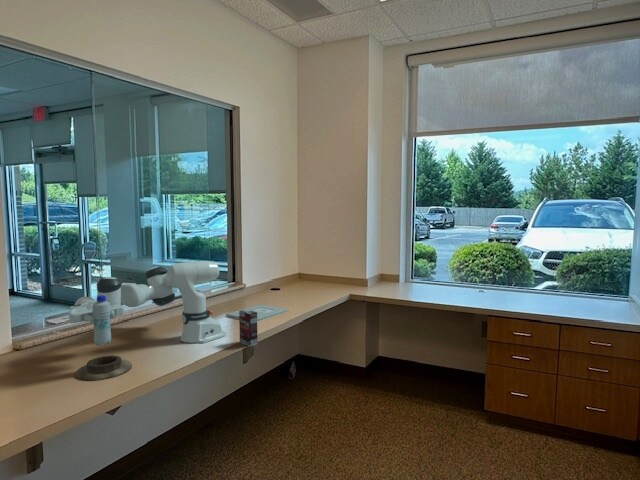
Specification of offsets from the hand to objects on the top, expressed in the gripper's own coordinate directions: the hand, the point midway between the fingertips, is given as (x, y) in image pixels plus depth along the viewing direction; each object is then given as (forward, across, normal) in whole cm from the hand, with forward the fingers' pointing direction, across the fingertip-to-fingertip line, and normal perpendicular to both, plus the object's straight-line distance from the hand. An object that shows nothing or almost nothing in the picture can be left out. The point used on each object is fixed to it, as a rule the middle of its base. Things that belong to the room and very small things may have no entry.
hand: (102, 317), depth 166 cm
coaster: (0, 0, -22) cm, 22 cm away
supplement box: (+12, -61, -22) cm, 66 cm away
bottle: (-1, 0, -12) cm, 12 cm away
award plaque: (-32, -96, -23) cm, 104 cm away
